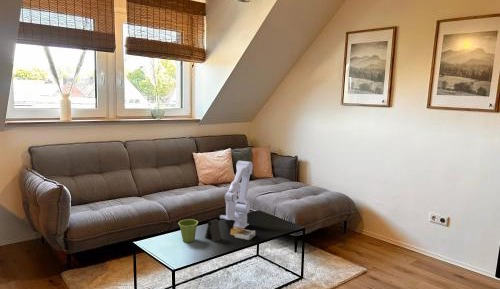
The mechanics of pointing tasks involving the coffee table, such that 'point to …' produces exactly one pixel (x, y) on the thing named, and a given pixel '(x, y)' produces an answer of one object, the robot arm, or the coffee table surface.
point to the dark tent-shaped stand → (213, 231)
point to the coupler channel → (249, 235)
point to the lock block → (236, 230)
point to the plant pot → (188, 229)
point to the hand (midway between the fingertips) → (230, 231)
